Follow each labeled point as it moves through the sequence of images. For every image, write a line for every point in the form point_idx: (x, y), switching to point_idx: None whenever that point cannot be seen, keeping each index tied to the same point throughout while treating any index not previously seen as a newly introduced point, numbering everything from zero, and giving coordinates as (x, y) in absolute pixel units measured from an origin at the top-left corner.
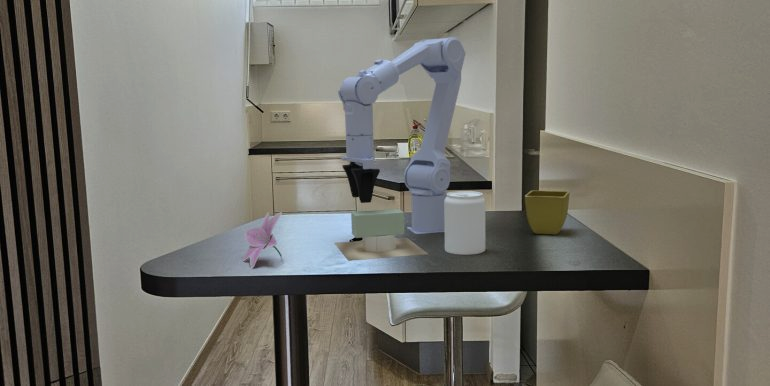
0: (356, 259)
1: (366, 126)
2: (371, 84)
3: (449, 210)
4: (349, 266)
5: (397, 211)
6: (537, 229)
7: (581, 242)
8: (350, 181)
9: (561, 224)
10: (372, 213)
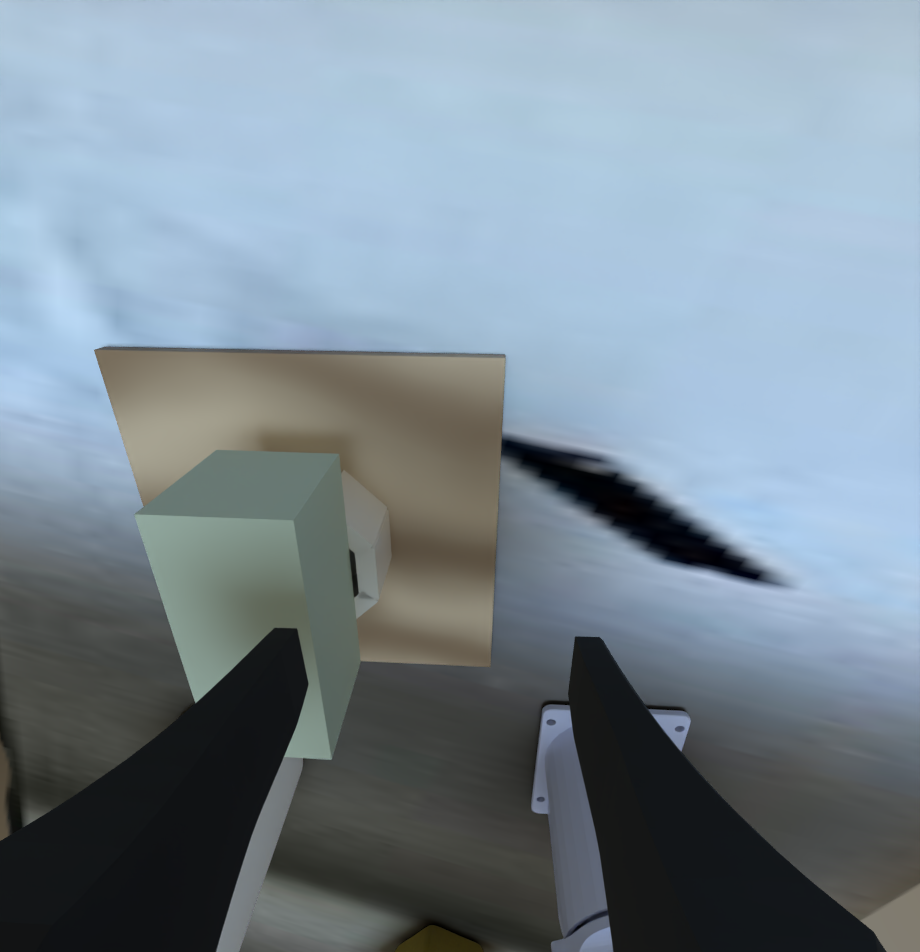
0: (115, 391)
1: None
2: None
3: None
4: (55, 340)
5: None
6: (418, 942)
7: (307, 945)
8: (620, 759)
9: None
10: (206, 621)
